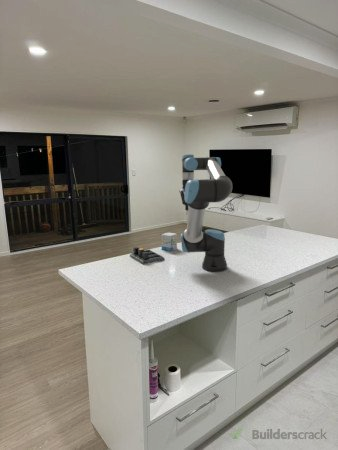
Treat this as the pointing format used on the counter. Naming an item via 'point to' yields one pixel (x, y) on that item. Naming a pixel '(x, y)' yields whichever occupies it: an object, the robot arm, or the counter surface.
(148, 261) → the panel
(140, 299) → the counter surface
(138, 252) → the handle
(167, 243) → the ink box
